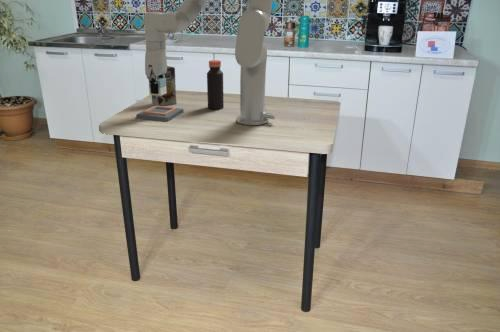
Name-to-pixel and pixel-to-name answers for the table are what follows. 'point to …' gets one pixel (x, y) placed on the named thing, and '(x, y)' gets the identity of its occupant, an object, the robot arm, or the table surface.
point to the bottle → (215, 85)
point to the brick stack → (160, 87)
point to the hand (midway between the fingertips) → (158, 91)
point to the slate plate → (160, 113)
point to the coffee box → (171, 90)
